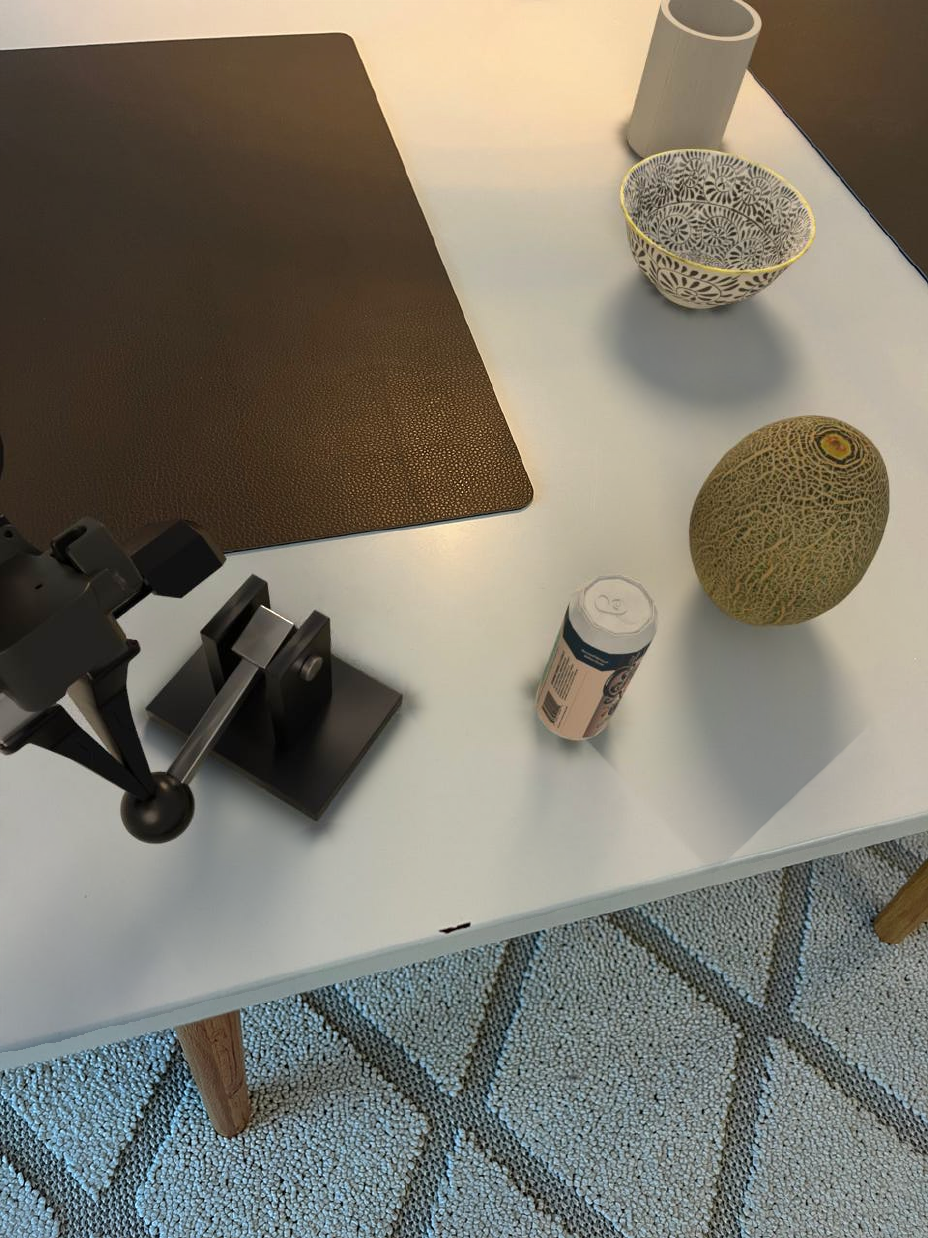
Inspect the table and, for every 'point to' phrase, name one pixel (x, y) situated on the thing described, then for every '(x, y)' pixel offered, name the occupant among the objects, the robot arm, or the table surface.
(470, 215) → the table surface
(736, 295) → the bowl
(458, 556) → the table surface
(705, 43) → the cup
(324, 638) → the lever base
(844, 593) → the fruit
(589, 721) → the beer can
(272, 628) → the ball knob lever
